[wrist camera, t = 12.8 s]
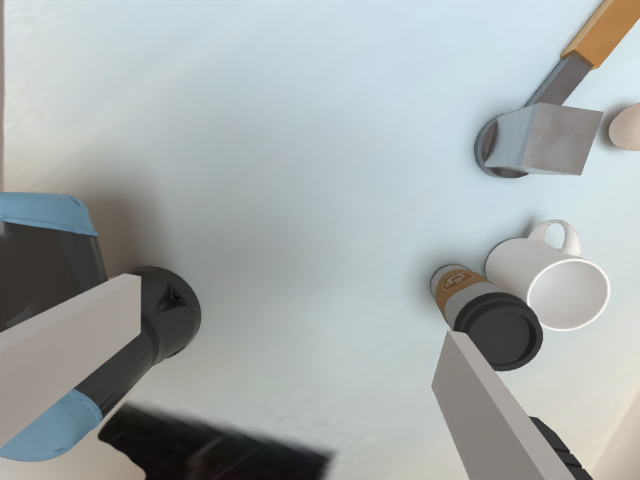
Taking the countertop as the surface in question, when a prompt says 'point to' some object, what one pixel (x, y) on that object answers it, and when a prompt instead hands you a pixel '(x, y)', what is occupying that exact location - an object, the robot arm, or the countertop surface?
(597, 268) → the mug
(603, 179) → the countertop surface
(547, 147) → the grey rectangular block
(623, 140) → the egg
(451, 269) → the coffee cup
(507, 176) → the ratchet
